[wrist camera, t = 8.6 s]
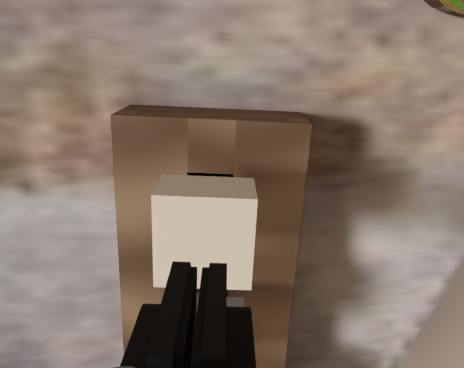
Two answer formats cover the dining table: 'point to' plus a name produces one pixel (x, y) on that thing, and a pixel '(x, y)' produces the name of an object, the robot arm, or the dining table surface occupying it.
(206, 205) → the cream rectangular block
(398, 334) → the dining table surface
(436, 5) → the sauce bottle
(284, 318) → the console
